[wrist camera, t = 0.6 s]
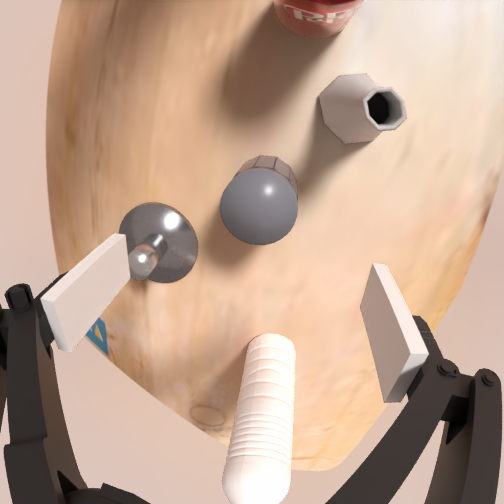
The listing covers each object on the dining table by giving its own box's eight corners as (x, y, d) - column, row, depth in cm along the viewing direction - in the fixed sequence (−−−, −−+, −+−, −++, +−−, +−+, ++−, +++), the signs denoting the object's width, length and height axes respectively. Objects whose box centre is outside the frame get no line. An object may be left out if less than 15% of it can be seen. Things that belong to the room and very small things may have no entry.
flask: (340, 155, 29) (362, 177, 20) (305, 91, 27) (313, 82, 18) (401, 127, 27) (446, 138, 18) (369, 62, 24) (403, 44, 15)
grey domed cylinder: (238, 153, 30) (221, 168, 23) (298, 159, 30) (301, 176, 22) (235, 209, 33) (218, 240, 26) (292, 216, 32) (292, 249, 25)
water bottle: (247, 363, 43) (215, 531, 20) (247, 330, 40) (208, 518, 17) (308, 368, 42) (305, 538, 19) (315, 334, 39) (318, 526, 17)
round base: (117, 199, 34) (90, 217, 28) (198, 206, 33) (180, 226, 28) (125, 273, 38) (103, 299, 33) (198, 285, 37) (184, 314, 32)
